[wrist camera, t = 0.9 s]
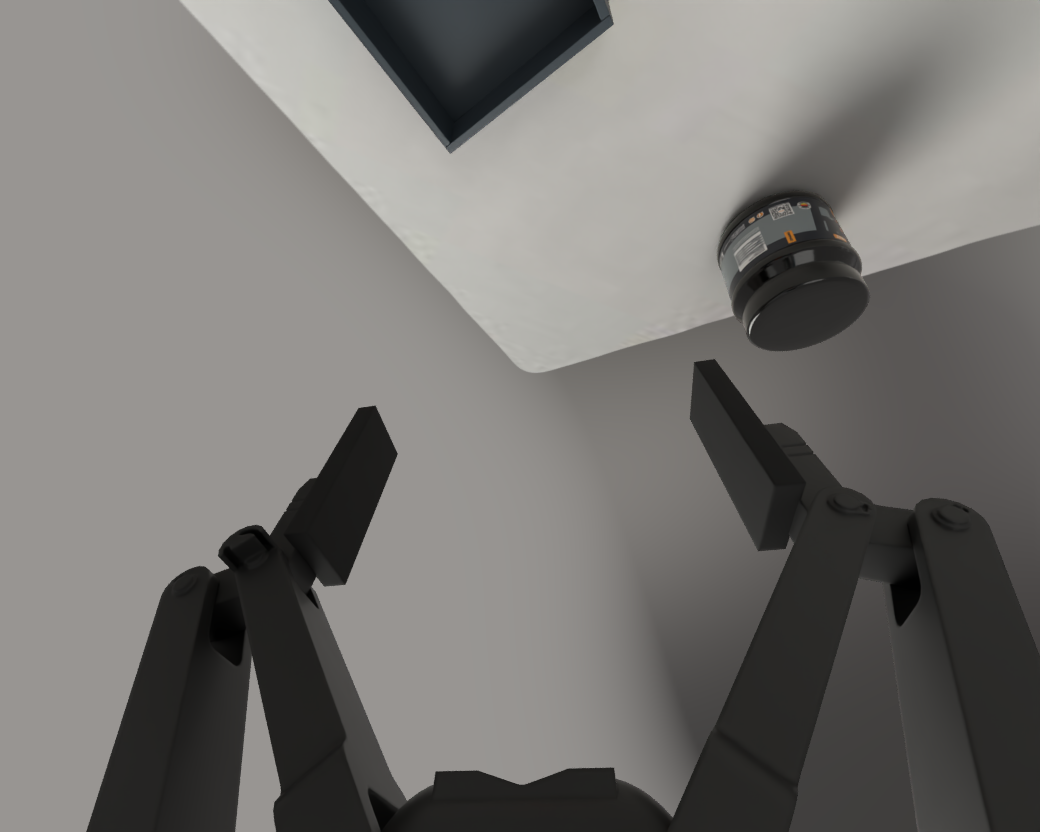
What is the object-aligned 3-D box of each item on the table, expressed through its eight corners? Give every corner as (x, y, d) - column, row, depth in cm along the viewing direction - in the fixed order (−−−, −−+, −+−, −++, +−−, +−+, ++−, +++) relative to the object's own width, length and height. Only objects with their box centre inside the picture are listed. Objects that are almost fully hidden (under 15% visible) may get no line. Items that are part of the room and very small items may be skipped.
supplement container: (804, 266, 47) (843, 350, 41) (705, 279, 49) (729, 360, 43) (849, 175, 38) (907, 264, 32) (726, 194, 40) (760, 283, 34)
